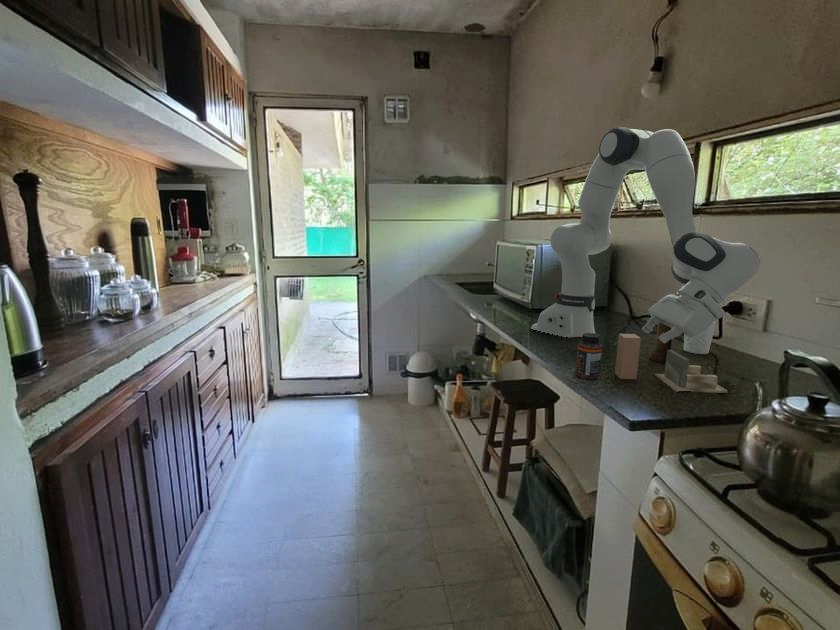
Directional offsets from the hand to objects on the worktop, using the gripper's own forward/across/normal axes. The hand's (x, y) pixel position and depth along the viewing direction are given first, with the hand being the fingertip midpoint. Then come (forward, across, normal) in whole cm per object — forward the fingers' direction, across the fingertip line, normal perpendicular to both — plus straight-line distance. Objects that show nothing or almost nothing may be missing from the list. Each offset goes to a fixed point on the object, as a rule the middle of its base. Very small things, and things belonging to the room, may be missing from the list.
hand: (652, 335), depth 112 cm
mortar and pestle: (0, -16, +16) cm, 22 cm away
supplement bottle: (+19, +1, -3) cm, 19 cm away
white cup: (-10, -25, +26) cm, 38 cm away
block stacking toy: (+2, +4, +14) cm, 14 cm away
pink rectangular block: (+12, 0, +4) cm, 12 cm away
